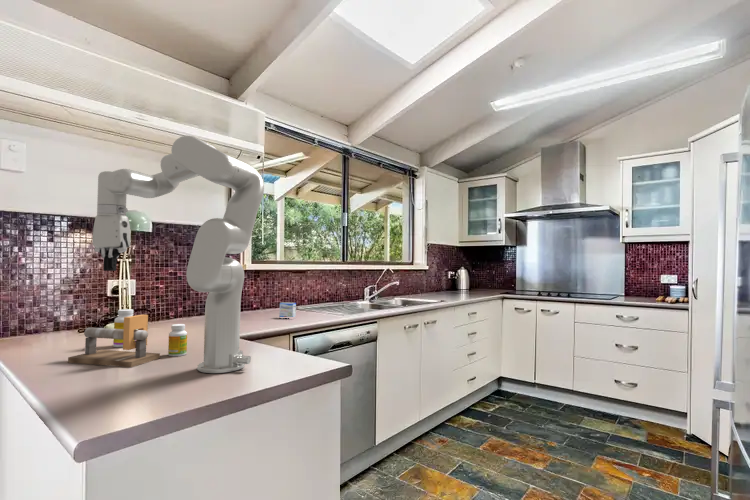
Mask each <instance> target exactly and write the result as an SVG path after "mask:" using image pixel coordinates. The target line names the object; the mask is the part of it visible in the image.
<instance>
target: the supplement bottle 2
mask: <svg viewBox="0 0 750 500" xmlns="http://www.w3.org/2000/svg"><path fill="white" fill-rule="evenodd" d="M170 327H171V331H170V332H168V351H167V354H168V356H169V357H182V356H185V355H187V353H188V352H187V351H188V348H187V347H188V332H187V331H186V330H185V329H186V324H184V323H175V324H171V326H170Z"/></svg>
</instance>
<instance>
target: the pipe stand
mask: <svg viewBox="0 0 750 500" xmlns="http://www.w3.org/2000/svg"><path fill="white" fill-rule="evenodd" d="M123 332H124V329H114V328H108V327H107V328H106V327H105V328H104V327H86V328H85V330H84V333H83V335H84V336H85V341H84V342H85V344H84V345H85V346H84V353H82V354H77V355H73V356H68V357H67V363H68V364H69V363H71V364H81V365H82V364H83V365H97V366H109V367H124V368H133V367H137V366H139V365H143V364H146V363H149V362H153V361H155V360H159V359H160V358H161V353H157V352H148V351H147V345H146V339H147V340H148V336H149V333H148V332H147V331H146V330H138V329H136V330H134V337H133V340H135V341H136V340H138V341H136V348H135V351H130V350H110V349H99V350H97V341H98V340H97V339H109V340H112V339H113V340H114V339H123Z"/></svg>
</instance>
